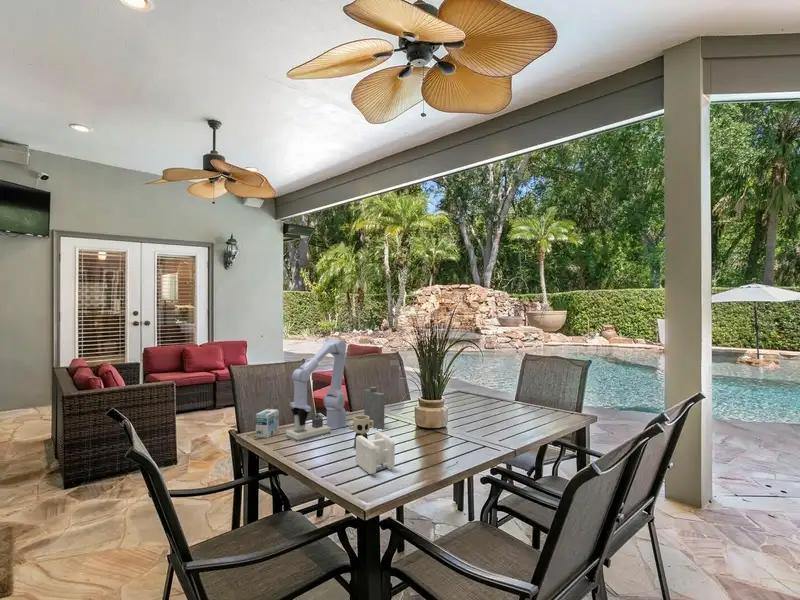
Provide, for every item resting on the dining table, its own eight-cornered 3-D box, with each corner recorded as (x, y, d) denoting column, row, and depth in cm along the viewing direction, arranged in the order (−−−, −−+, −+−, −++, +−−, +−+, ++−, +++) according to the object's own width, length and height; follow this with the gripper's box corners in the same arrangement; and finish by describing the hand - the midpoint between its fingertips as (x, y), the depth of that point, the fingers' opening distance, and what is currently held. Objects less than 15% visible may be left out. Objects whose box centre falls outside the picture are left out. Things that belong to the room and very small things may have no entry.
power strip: (318, 429, 214) (318, 422, 214) (330, 433, 207) (330, 426, 207) (285, 437, 201) (286, 429, 201) (297, 441, 194) (297, 434, 194)
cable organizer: (396, 472, 160) (396, 441, 160) (370, 477, 155) (370, 445, 155) (378, 459, 173) (378, 430, 173) (353, 464, 168) (354, 434, 168)
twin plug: (319, 425, 210) (319, 417, 210) (322, 426, 208) (322, 418, 208) (312, 427, 207) (312, 418, 207) (315, 428, 205) (315, 419, 205)
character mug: (351, 451, 183) (351, 420, 183) (346, 445, 189) (347, 416, 189) (375, 448, 187) (375, 417, 187) (370, 443, 193) (370, 413, 193)
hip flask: (385, 429, 215) (385, 388, 215) (378, 430, 212) (379, 389, 212) (368, 422, 227) (368, 384, 227) (361, 423, 225) (361, 384, 225)
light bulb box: (268, 438, 199) (268, 414, 199) (254, 437, 201) (255, 413, 201) (279, 431, 210) (279, 409, 210) (266, 430, 211) (266, 408, 211)
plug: (301, 426, 203) (301, 413, 203) (305, 427, 201) (305, 414, 201) (294, 428, 200) (294, 415, 200) (297, 429, 198) (298, 416, 198)
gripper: (284, 393, 203) (284, 422, 203) (301, 398, 193) (301, 429, 193) (297, 391, 208) (297, 420, 208) (315, 396, 198) (314, 426, 198)
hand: (300, 424), depth 201 cm, fingers closed on plug, 3 cm apart
